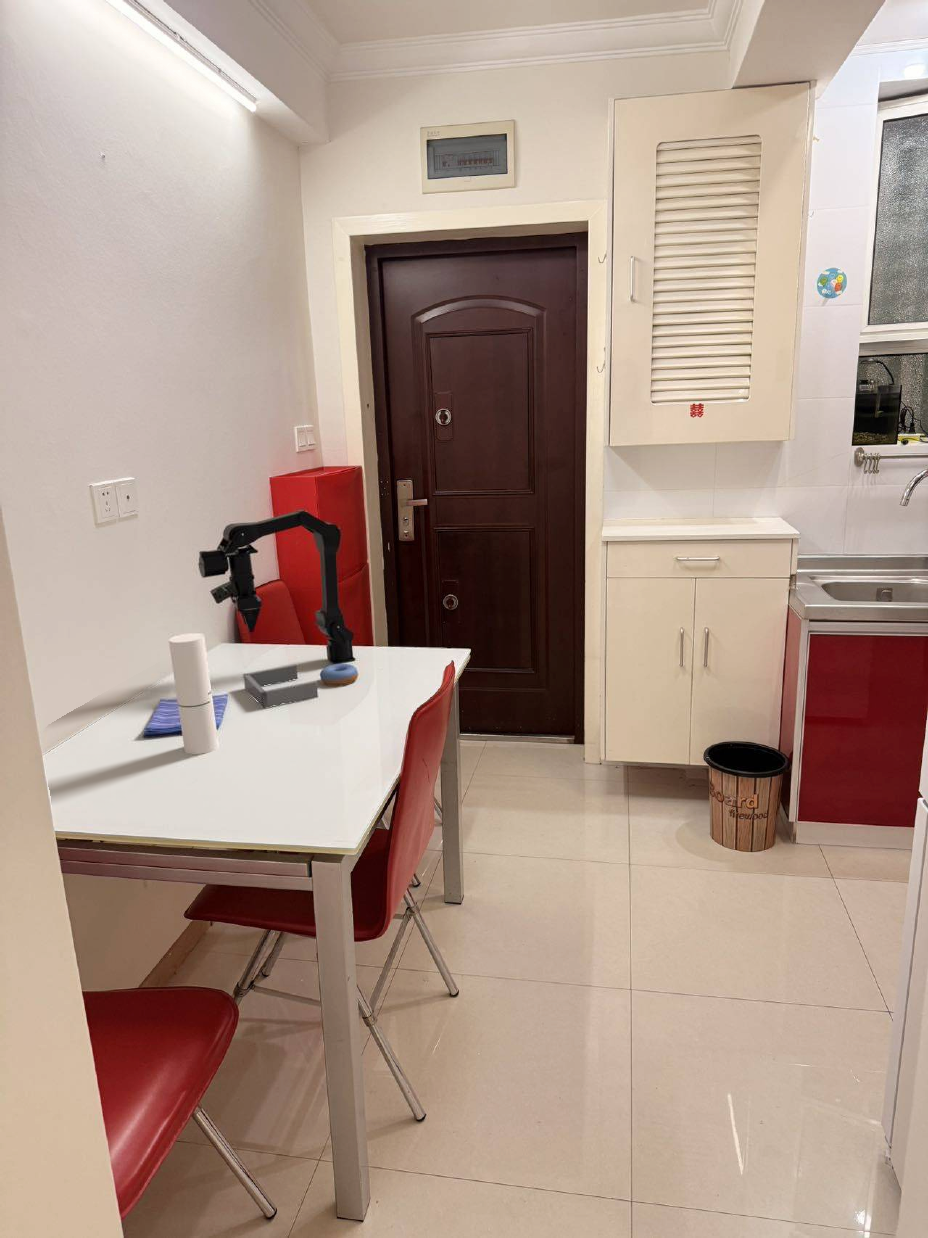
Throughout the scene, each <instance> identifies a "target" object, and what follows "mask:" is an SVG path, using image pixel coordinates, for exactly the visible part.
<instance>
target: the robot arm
mask: <svg viewBox="0 0 928 1238" xmlns="http://www.w3.org/2000/svg"><path fill="white" fill-rule="evenodd" d="M298 527H302V528H303V529H305V530H306V531H308V532H310V533H311V534H312V535H313V539H314V543H315V546H316V549H317V551H318V554H319V562H320V563H319V564H320V580H321V581H320V583H321V599H322V600H321V601H322V603H321V607H320V610H315V616H316V617H315V618H316V621H315V625H317V627H318V629H319V631H320V632H321V633H323V634H324V635H325V637H326V638H328V639H327V645H326V646H325V648H326V656H327V660H328V661H329V662H330V663H332V664H333V665H334V664H344V663H346V662H347V663H348V662H352V661H356V657H354V650H353V640H354V637H355V633H354V632H352V631H351V630H350V629H348V627H347V626H346V623H345V619H344V614H343V611H342V610H341V607H340V604H339V603H340V602H339V601H340V600H339V583H338V564H337V563H338V562H337V561H338V559H337V555H338V553H339V549H340V547H341V540H342V539H341V538H342V532H341V529H340V527H339V526H338V525H336V524H334V523H330V522H326V521H323V520H321V519H320V518H319V517H316V516H314V515H312V514H311V513H310V512H309V511H307V510H303V509H297V510H295V511H293V512H289V513H285V514H282V515H278V516H273V517H271V518H267V519H263V520H259V521H255V522H254V521H253V522H236V523H229V524H228V525H226V526H225V528H224V529H223V532H222V539H221V540H220V542H219V544H218V546H217V548H216V549H214V550H213V549H211V550H203V551H202V550H201V551H199V552H198V553H199V557H198V570H199V574H200V576H201V577H202V579H204V578H210V577H212V578H213V577H217V576H224V575H226V574H227V573H226V572H228V571H229V572H230V575H229V576H228V580H229V581H227V582H225V583H223V584H221V585H219V586H217V587H214V588H213V589H210V591H209V592H210V594H211V596H212V598H213V600H214V601H215V603H216V604H218V605H219V604H221V603H222V602H223V601H225V600H227V599H230V600H231V602H232V603H233V604H234V605H235V607H236V608H235V609H236V610H237V612H238V613H240V615H241V618H242V621H243V624H244V625H245V626H246V627H247V629H248V632H249V633H254V632H255V628H256V625H257V622H258V620H259V619H258V618H259V616H260V615H259V614H260V612H261V610H262V608H263V603H262V599H261V598H260V597H259V596H258V595H257V590H256V589H255V587H256V586H255V578H256V577H255V575H254V573H253V564H252V557H251V554H252V555H253V554H258V552H259V550H258V549H256V548H255V547H253V546H252V544H253V543H254V542H256V541H258V540H259V539H261V538H263V537H266V536H269V535H273V534H276V533H280V532H285V531H288V530H290V529H294V528H298Z"/></svg>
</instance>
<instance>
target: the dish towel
mask: <svg viewBox="0 0 928 1238" xmlns="http://www.w3.org/2000/svg"><path fill="white" fill-rule="evenodd" d="M228 697H229V696H228V694H219V695H212V699H213V707H214V714H215V722H216V729H217V731H218V730H219V728H220V726H221V725H222V721H223V718H224V714H225V711H226V708H227V704H228ZM156 707H157V708H156V710H155V711H154V713H153V716H152V717H151V719H150V720H149V723H147V726H145V728H144V729H145V731H144V732H143V734H142V737H143V738H146V739H148V738H149V739H150V738H157V737H158V738H159V737H168V736H177V735H182V728H181V721H180V715H179V708H178V701H177V699H165V698H163V699H159V701H158V704H157V706H156Z"/></svg>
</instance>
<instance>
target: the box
mask: <svg viewBox="0 0 928 1238" xmlns="http://www.w3.org/2000/svg"><path fill="white" fill-rule="evenodd" d="M293 679H298V668H297V664H290V665H285V666H280V667H274V668H269V669H264V670H257V671H253V672H248V673H243V683H244V689H245V690H246V689H247V690H248V691H247V690H246V691H247V693H250V694H251V695H252V696H253V697H254V698H255V699H256V700H257V701H258V702H257V701H256V700H255V699H254V698H253V697H252V696H251V695H250V694H249V695H250V696H251V697H252V698H253V699H254V700H255V701H256V702H257V703H258V705H259V704H260V705H261V706H262V707H263V708H264V709H266V707H269V708H271V707H270V706H273V705H278V706H281V705H280V704H282V703H288V704H290V703H289V702H292V703H295V702H294V701H297V702H301V701H300V700H302V701H306V700H307V701H308V700H311V699H315V697H316V698H319V693H318V683H317V681H316V680H312V681H308V682H302V683H298V684H297V683H296V684H292V685H287V686H283V687H277V688H273V689H268V690H265V689H264V688H263V687H265V686H264V685H268V684H273V685H276V684H275V683H278V682H283V683H286V682H285V681H288V682H290V681H289V680H293ZM293 681H294V680H293ZM278 684H279V683H278ZM261 686H263V687H261ZM268 686H269V685H268ZM260 705H259V706H260ZM261 706H260V707H261ZM262 707H261V708H262ZM273 707H274V706H273ZM263 708H262V709H263Z"/></svg>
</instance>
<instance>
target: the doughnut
mask: <svg viewBox="0 0 928 1238" xmlns="http://www.w3.org/2000/svg"><path fill="white" fill-rule="evenodd" d="M319 676H320V681H321V682H322V683H323V684H325V685H326V686H331V687H340V685H341V686H345V685H346V684H347V685H349V684H352V683H354V682H355V681H356V680H357V679H358V677H359V673H358V669H357V667H356V666H354V665H352V664H348V663H337V664H334V663H333V664H331V665H328V666H325V667H324V668H323V669H321V670H320V673H319Z"/></svg>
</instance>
